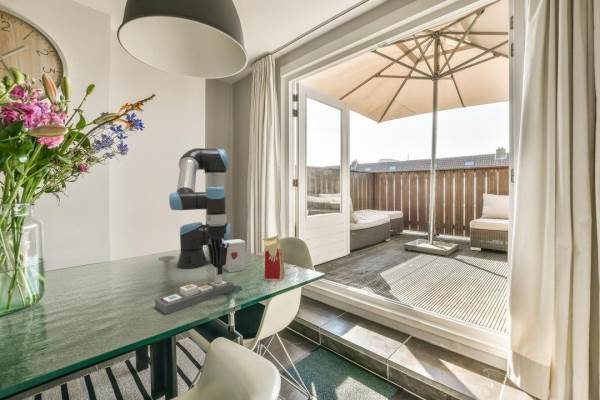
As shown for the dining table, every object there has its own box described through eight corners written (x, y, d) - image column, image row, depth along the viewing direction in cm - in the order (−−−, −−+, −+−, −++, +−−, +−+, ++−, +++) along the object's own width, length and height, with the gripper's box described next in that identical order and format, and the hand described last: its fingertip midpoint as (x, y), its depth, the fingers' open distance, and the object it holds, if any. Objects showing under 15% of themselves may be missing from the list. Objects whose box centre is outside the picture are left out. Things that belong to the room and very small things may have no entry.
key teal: (162, 305, 94) (162, 297, 93) (176, 301, 97) (176, 293, 97) (168, 309, 90) (168, 301, 90) (182, 304, 94) (182, 296, 94)
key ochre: (195, 294, 103) (195, 287, 103) (207, 290, 107) (206, 284, 106) (202, 297, 100) (202, 290, 100) (213, 293, 103) (213, 286, 103)
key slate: (210, 289, 108) (210, 282, 108) (220, 286, 111) (220, 279, 111) (216, 292, 105) (216, 285, 104) (227, 288, 108) (226, 282, 108)
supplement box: (229, 272, 132) (228, 243, 131) (223, 268, 139) (223, 240, 138) (246, 269, 137) (245, 241, 136) (240, 265, 144) (239, 238, 143)
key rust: (180, 294, 98) (179, 287, 98) (192, 290, 102) (192, 283, 102) (186, 297, 95) (185, 290, 95) (198, 293, 99) (198, 286, 99)
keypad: (155, 307, 94) (154, 299, 93) (221, 285, 114) (221, 279, 114) (165, 314, 88) (165, 306, 88) (233, 290, 108) (233, 283, 108)
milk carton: (284, 274, 127) (283, 233, 126) (281, 281, 118) (280, 237, 117) (266, 274, 128) (265, 233, 127) (261, 280, 119) (260, 237, 118)
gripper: (199, 224, 108) (201, 281, 109) (217, 226, 100) (219, 288, 101) (216, 222, 114) (217, 276, 115) (234, 224, 105) (235, 282, 106)
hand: (218, 281), depth 108 cm, fingers closed
